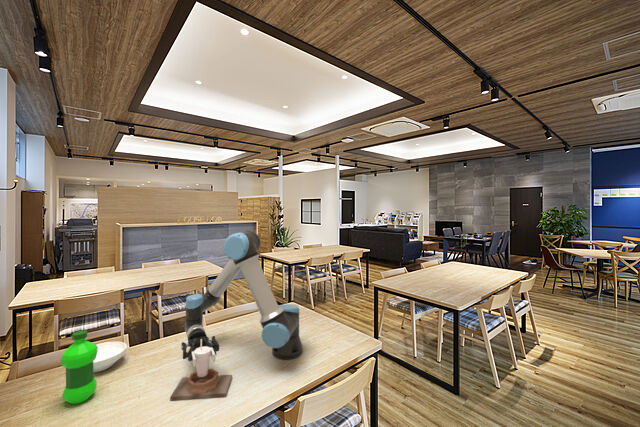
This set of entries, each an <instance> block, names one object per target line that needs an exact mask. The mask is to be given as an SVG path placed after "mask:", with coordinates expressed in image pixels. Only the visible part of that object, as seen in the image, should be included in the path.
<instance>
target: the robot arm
mask: <svg viewBox="0 0 640 427" xmlns="http://www.w3.org/2000/svg"><path fill="white" fill-rule="evenodd" d="M261 246H262V240H261V237H260V236H259V234H257V233H256V232H254V231H251V230H250V231H249V230H247V231H241V232H236V233H233V234H230V235H229V236H228V237H227V238H226V240H225V241H224V243H223V252H224V255H225V256H226V258H228V259H229V260H228V262H227V263H226V264H225V266H224V267H223V269H221V271H220V272H219V274H218V275H217V277H216V278H215V280H213V282H212V283H211V284H210V286H209V287H208V289H207V290H206V291H205V293H204V294H199V293H196V294H191V295H188V296H186V297H185V298H186V299H185V324H184V332H185V334H186V338H187V342H183V341H182V342H181V343H180V344H181V350H182V359H183V360H185V359H187V360H188V362H192V366H193V367H196V358H195V355H194V351H195V350H196V349H197V348H199V347H200V345H201V339H202V347H205V346H207V347H210V348H211V353H210V357H211V360H212V362H213V363H214V362H216V356H217V352H220V344H219V342H218V341H217V339H216V336H215V335H212V337H210V338H209V336H207V333H206V330H205V328H204V326H203V325H204V323H203V322H204V320H203V319H204V318H203V317H204V316H203V315H204V312H205V311H206V310H208V309H210V308H212V307H213V306H215V305H217V304H218V303H219V302H220V300H221V298H222V295H223V294H224V292H225V291H226V290H227V289H228V288H229V286H230V285H231V284H232V282H233V281H234V279H235V278H236V277H237V276H238V274H239V273H240V271H241V273H242V275H243V277H244V279H245V281H246V284H247V287H248V289H249V291H250V294H251V295H252V298H253V300H254V302H255V304H256V307H257V310H258V312H259V314H260V316H261V317H260V320H259V323H260V325H261V328H262V330H261V338H262V341H263V343H264V344H265V345H266V346H268V347H270V348H272V350H271V351H272V352H271V354H272V356H274V357H275V358H277V359H281V360H293V359H296V358H298V357H300V356H301V355H302V354H303V352H304V351H303V347H304V346H303V344H302V341H301V340H302V339H301V337H300V308H299V306H298V305H295V304H289V303H287V304H278V302H277V300H276V297H275V296H274V292H273V291H272V289H271V286H270V284H269V282H268V280H267V279H268V278H266V274H265V273H264V271H263V268H262V266H261V263H260V261H259V257H260V254H259V250H260V248H261ZM188 347H189V350H188V351H187V349H188Z"/></svg>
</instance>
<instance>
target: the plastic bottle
mask: <svg viewBox="0 0 640 427" xmlns="http://www.w3.org/2000/svg"><path fill="white" fill-rule="evenodd" d="M87 337H88V330H85V329H84V330H79V331H75V332H73V333H72V336H71V338H72V341H73V343H72V344H71V345H69V346H68V348H67V349H65V350H64V351H63V353H62V356H61V358H60V364H61V366H62V367H64V368H65V387H64V390H63V392H62V396H61V397H62V399H63V401H64V402H67V403H69V404H72V405H78V404H81V403H83V402H85V401H87V400H88V399H89V398H90V397H91V396H92V395H93V394H94V393H95V391H96V389H97V382H98V381H97V379H96V378H95V377H94V373H95V372H93V361H94V360H95V359H96V356H97V351H98V347H97V346H96V344H95V343H93V342H91V341H89V340H86V338H87Z"/></svg>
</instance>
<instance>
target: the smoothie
mask: <svg viewBox="0 0 640 427" xmlns="http://www.w3.org/2000/svg"><path fill="white" fill-rule="evenodd" d="M210 353H211V348H210V347H207V346H205V347H202V339H201V345H200V347H199V348H196V350H195V351H194V355H195V358H196V366H195V367H196V371H197V376H198V377H204V376H206V375H207V373H208V369H209V364H210V357H211V355H210Z"/></svg>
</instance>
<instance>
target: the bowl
mask: <svg viewBox="0 0 640 427" xmlns="http://www.w3.org/2000/svg"><path fill="white" fill-rule="evenodd" d="M95 345H96V346H97V347H98V351H97V356H96V359H95V360H94V361H93V372H94V373H98V372H99V373H100V372H102V371H105V370H107V369H108V368H110V367H112V366H113V365H114V364H115V363H116V362H117V361H118V360H120V359H121V358H122V357H124V355H125V354H126V352H127V346H128V345H127V343H125V342H122V341H106V342H101V343H96V344H95Z"/></svg>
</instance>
